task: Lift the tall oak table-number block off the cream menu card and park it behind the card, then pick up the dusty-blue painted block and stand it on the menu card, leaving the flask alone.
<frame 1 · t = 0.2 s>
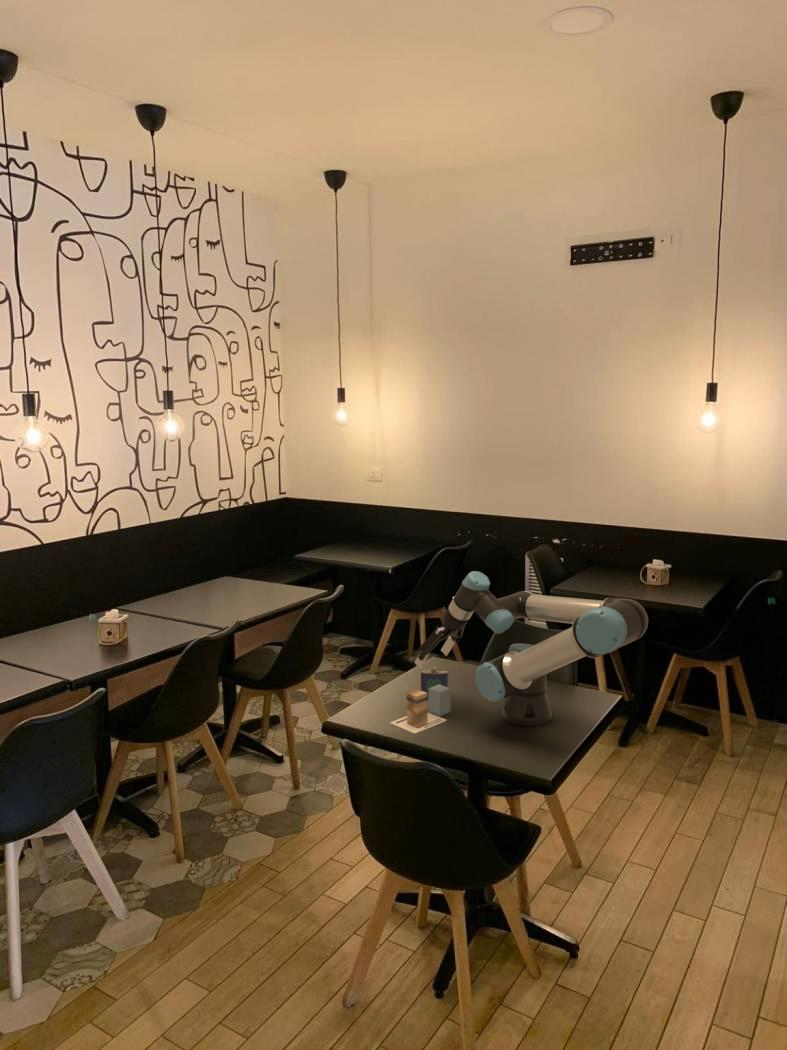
hand: (431, 658, 258), 16 cm above the table, tool tilted 35°, fingers open, 13 cm apart
flask: (434, 697, 267), on the table
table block: (417, 723, 245), resting on menu card
menu card: (418, 722, 246), on the table
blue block: (439, 712, 254), on the table
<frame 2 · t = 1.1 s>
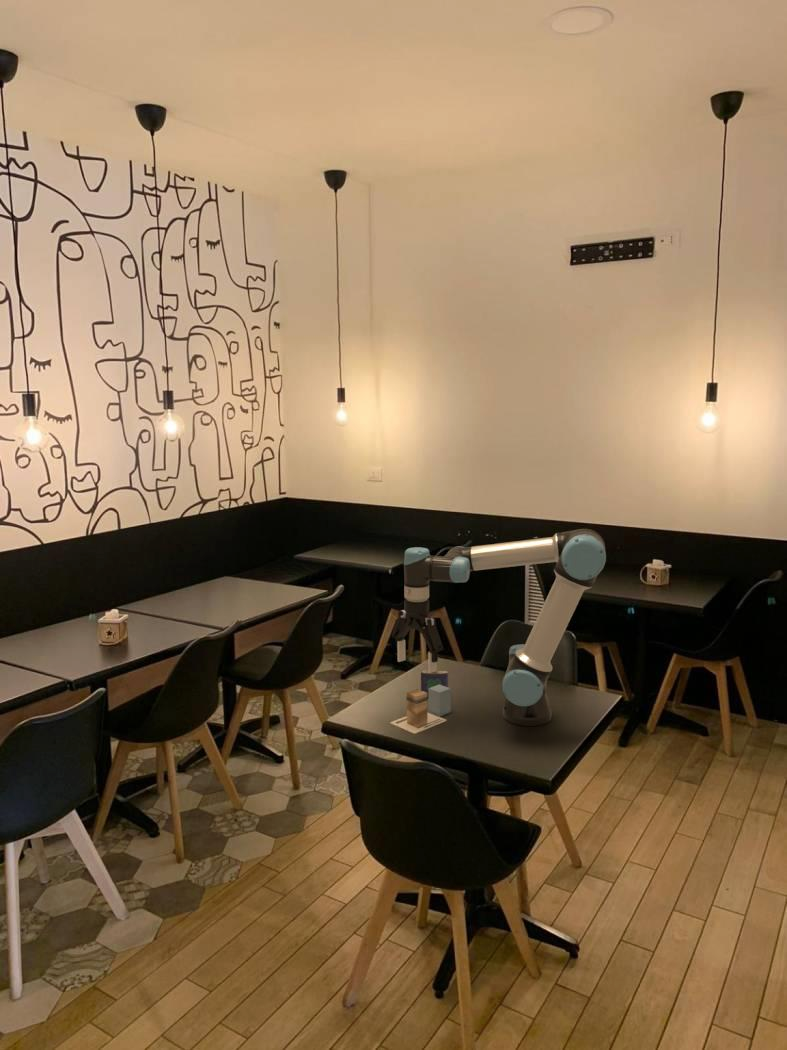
hand: (416, 666, 242), 19 cm above the table, tool pointing down, fingers open, 13 cm apart
nothing on the table moved.
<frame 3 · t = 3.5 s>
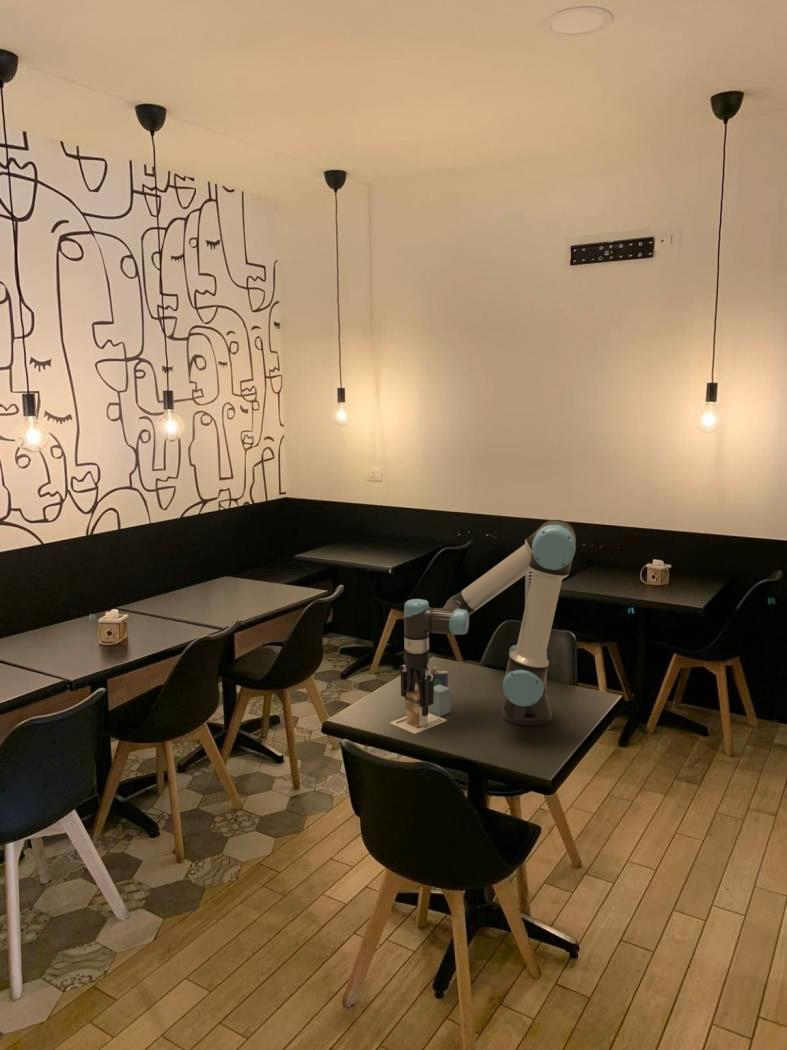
hand: (417, 722, 245), 1 cm above the table, tool pointing down, fingers closed on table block, 4 cm apart
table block: (417, 723, 245), resting on menu card, touching gripper
everything else where it was.
when the fingers open (2 cm above the table, at t = 7.2 s): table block drops 2 cm, on the table.
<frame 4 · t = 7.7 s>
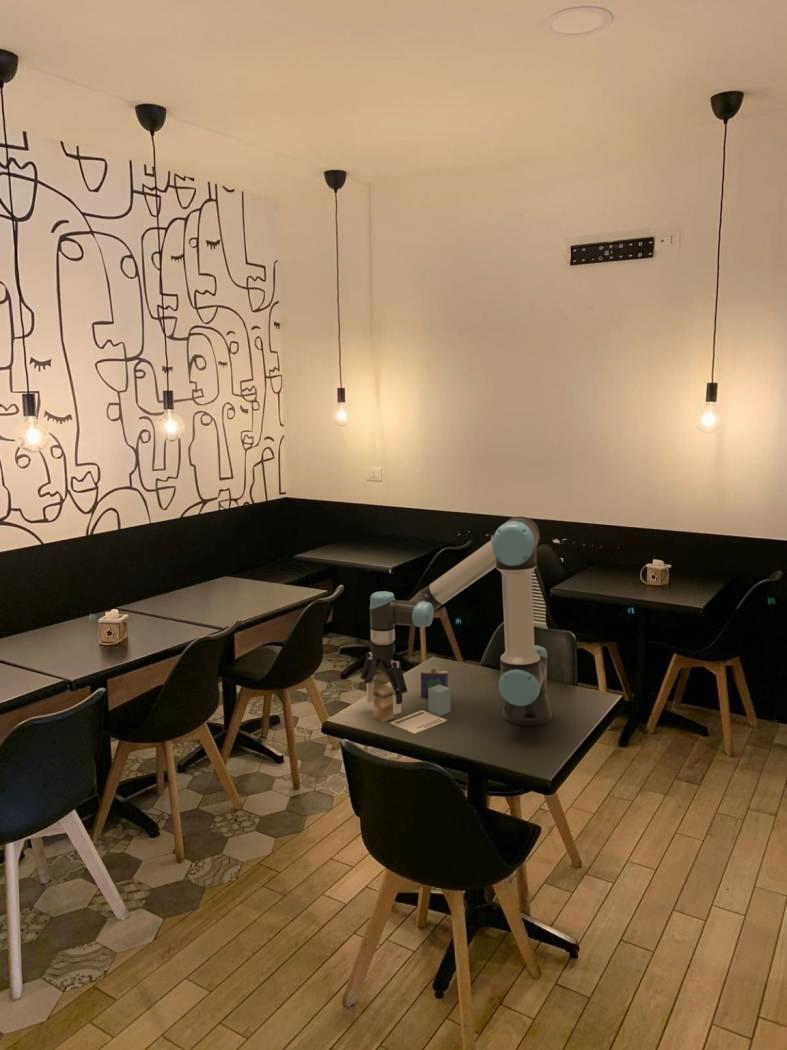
hand: (383, 707, 249), 4 cm above the table, tool pointing down, fingers open, 12 cm apart
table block: (383, 718, 250), on the table
everything else where it was.
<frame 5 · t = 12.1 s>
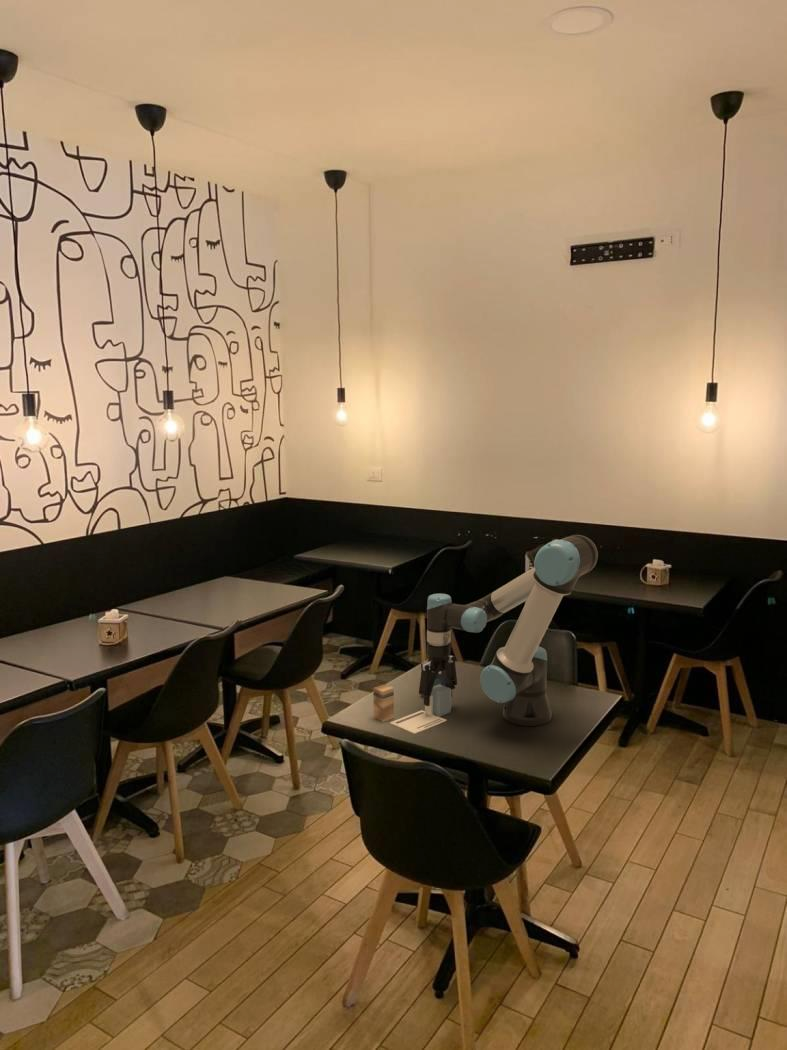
hand: (438, 711, 254), 0 cm above the table, tool pointing down, fingers open, 8 cm apart
nothing on the table moved.
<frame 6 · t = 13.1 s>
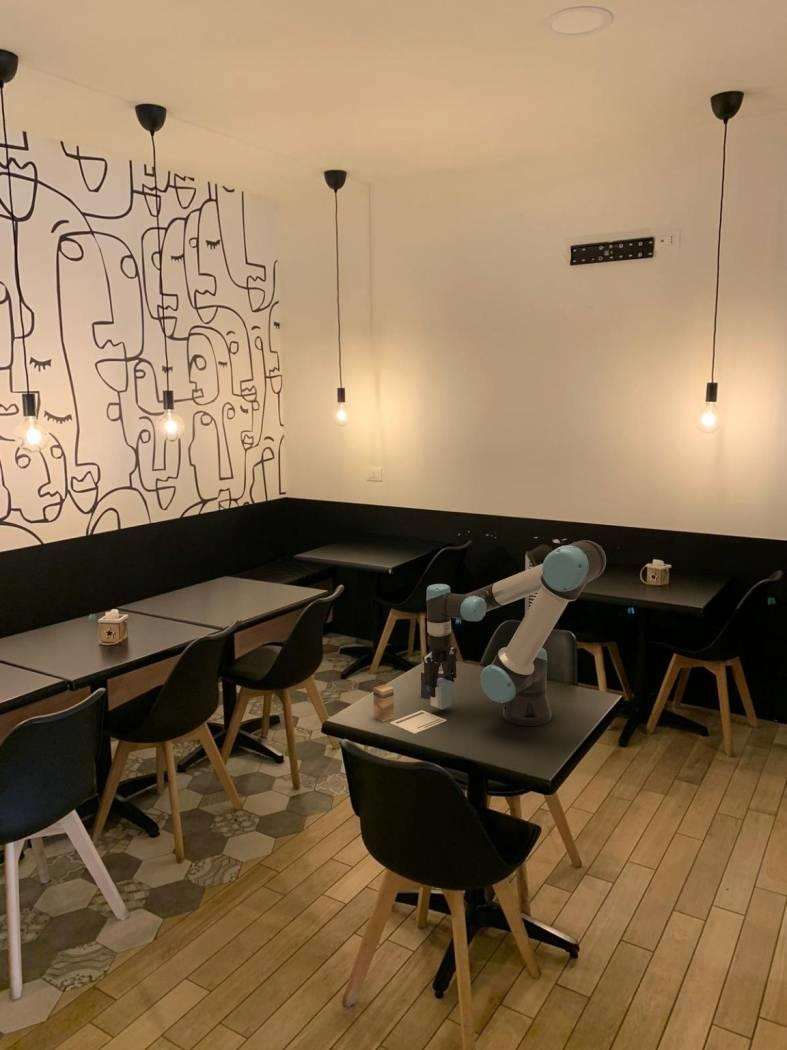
hand: (441, 703, 253), 3 cm above the table, tool pointing down, fingers closed on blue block, 5 cm apart
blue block: (441, 705, 253), point 2 cm above the table, touching gripper
everything else where it was.
when the fingers open (1 cm above the table, at t = 17.6 s): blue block stays where it is, resting on menu card.
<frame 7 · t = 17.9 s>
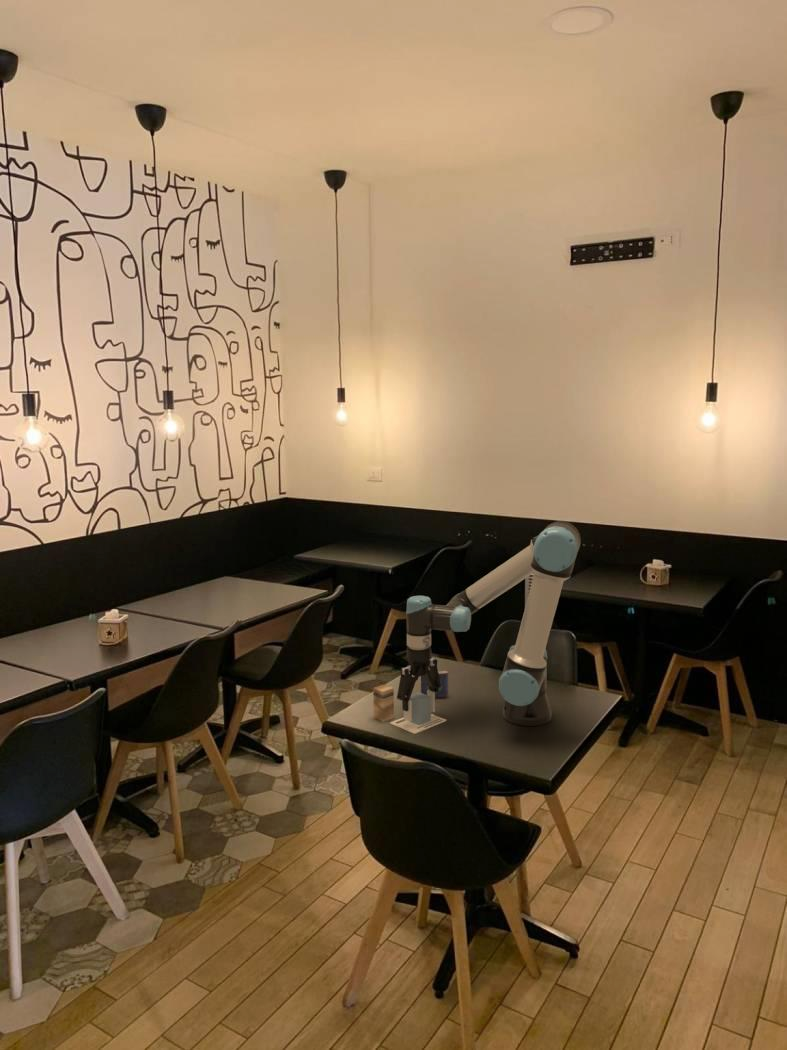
hand: (419, 715, 246), 2 cm above the table, tool pointing down, fingers open, 9 cm apart
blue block: (419, 720, 247), resting on menu card
everything else where it was.
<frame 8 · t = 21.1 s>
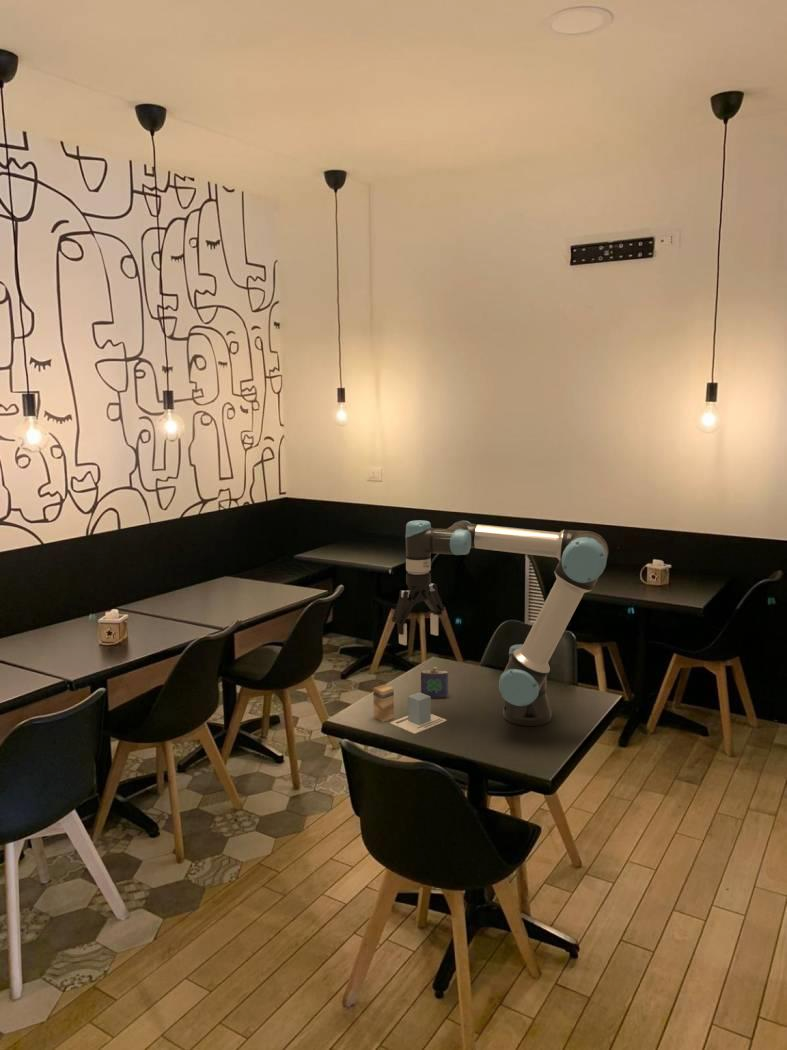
hand: (418, 639, 242), 27 cm above the table, tool pointing down, fingers open, 13 cm apart
nothing on the table moved.
at the end: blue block inside the target area on the menu card (0.5 cm from its centre), point 0.3 cm above the menu card's base; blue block tilted 0°; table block moved 11.7 cm from its start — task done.
